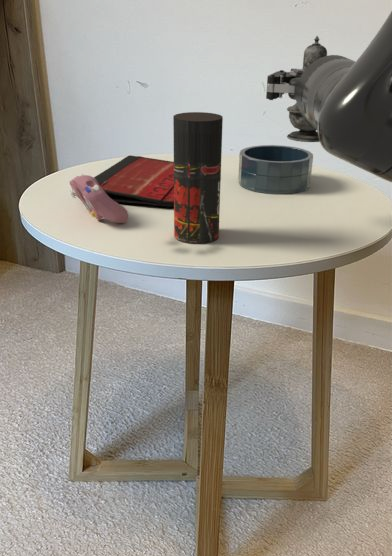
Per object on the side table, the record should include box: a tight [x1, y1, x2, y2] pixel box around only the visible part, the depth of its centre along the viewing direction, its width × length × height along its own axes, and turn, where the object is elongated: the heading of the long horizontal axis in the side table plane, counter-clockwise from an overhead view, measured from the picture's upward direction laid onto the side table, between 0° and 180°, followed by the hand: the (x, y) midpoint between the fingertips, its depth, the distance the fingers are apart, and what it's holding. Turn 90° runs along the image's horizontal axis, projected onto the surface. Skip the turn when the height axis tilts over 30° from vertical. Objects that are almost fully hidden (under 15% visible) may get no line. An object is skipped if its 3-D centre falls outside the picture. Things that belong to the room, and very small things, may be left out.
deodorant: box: [172, 111, 224, 245], centre depth 76 cm, size 6×6×15 cm
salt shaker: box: [286, 35, 328, 143], centre depth 76 cm, size 6×6×12 cm
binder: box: [93, 155, 174, 208], centre depth 98 cm, size 16×2×21 cm
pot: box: [237, 144, 314, 195], centre depth 100 cm, size 12×12×5 cm
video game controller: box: [69, 173, 129, 224], centre depth 84 cm, size 10×5×7 cm, turn 27°
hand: (308, 77), depth 78 cm, fingers closed on salt shaker, 3 cm apart
